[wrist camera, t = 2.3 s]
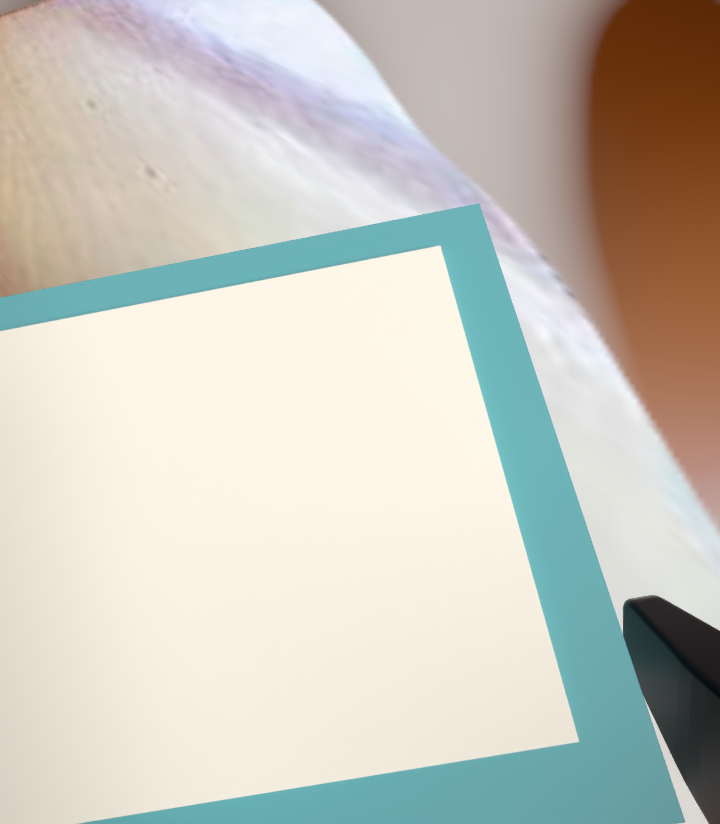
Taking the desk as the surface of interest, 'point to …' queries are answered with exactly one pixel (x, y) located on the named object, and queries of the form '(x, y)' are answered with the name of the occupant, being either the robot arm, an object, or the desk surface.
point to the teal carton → (303, 551)
